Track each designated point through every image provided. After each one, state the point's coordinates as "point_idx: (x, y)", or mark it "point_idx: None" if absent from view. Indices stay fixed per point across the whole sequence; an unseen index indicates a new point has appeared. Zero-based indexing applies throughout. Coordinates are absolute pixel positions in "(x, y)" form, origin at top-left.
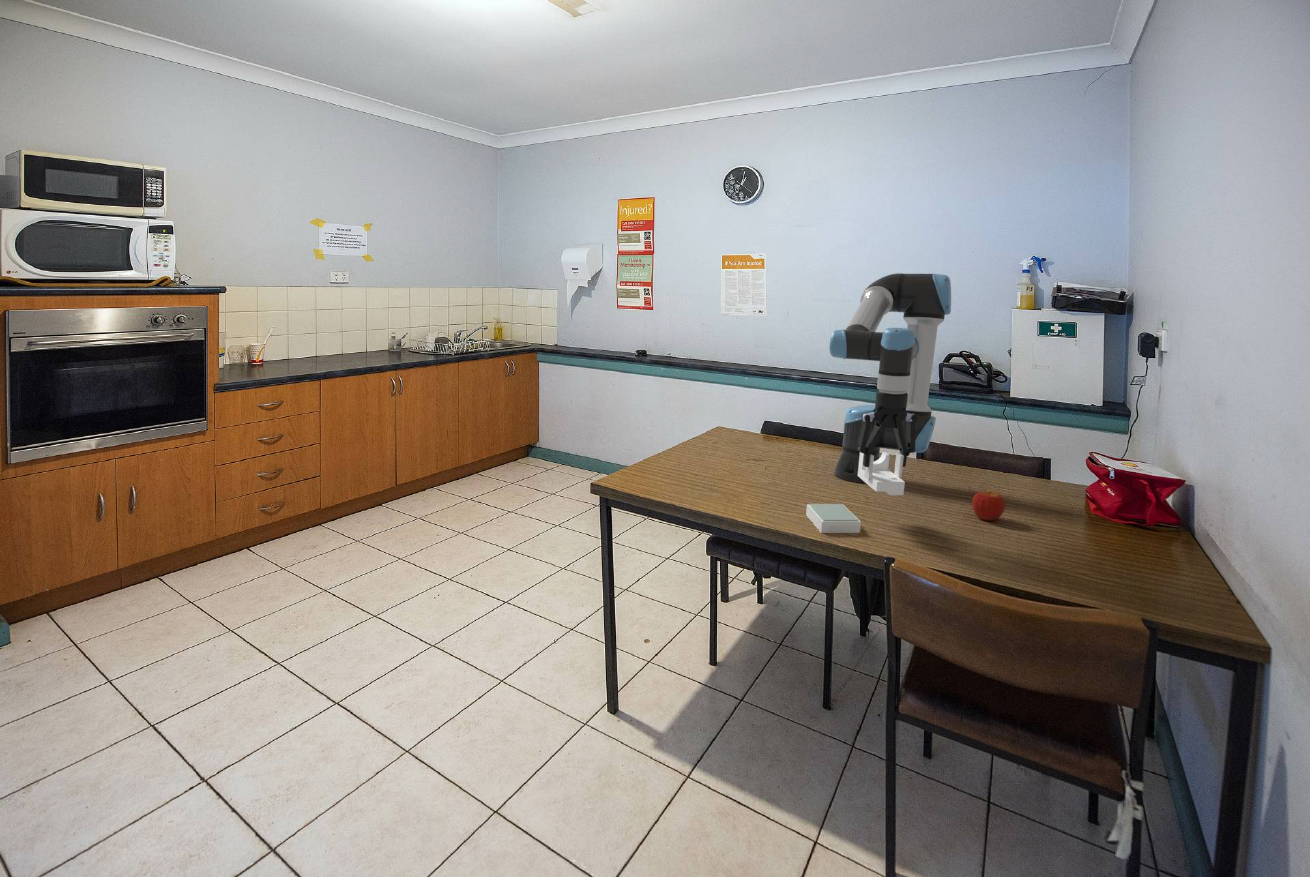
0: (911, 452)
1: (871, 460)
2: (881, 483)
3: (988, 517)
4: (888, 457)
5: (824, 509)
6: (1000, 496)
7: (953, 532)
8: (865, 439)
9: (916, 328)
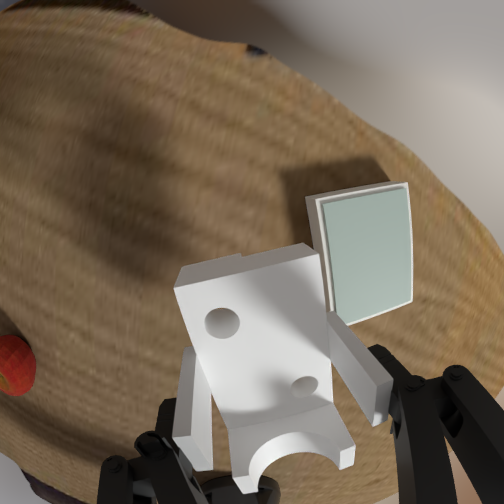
0: (125, 461)
1: (375, 363)
2: (294, 256)
3: (14, 336)
4: (235, 468)
5: (390, 270)
6: None
7: (68, 259)
8: (492, 423)
9: None
